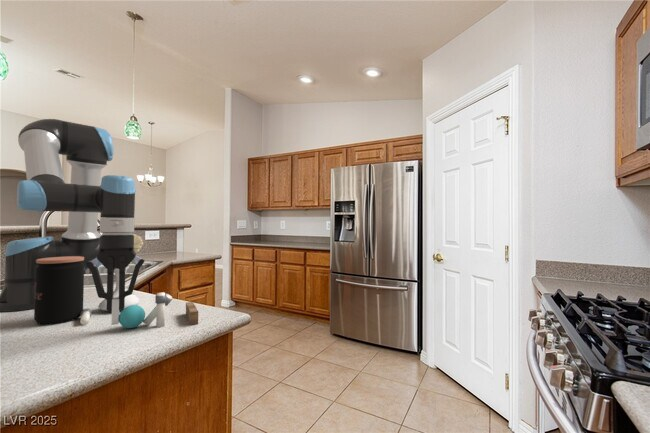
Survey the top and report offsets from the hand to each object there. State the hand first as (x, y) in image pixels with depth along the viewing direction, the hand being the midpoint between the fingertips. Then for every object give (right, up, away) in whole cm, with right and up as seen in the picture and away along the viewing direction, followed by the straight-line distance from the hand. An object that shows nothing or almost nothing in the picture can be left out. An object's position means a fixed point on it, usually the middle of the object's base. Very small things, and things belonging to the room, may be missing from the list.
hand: (115, 322), depth 78 cm
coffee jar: (-23, -2, +9) cm, 24 cm away
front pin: (+6, -1, +3) cm, 7 cm away
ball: (+3, +1, +2) cm, 4 cm away
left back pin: (-11, -1, +4) cm, 12 cm away
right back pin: (+10, -2, +3) cm, 11 cm away
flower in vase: (-12, -3, +20) cm, 23 cm away
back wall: (+16, -2, +9) cm, 19 cm away
